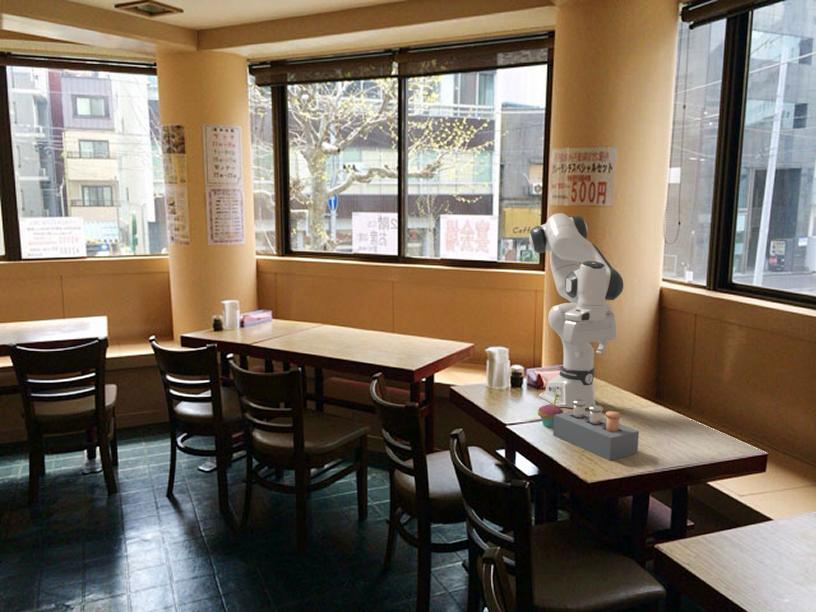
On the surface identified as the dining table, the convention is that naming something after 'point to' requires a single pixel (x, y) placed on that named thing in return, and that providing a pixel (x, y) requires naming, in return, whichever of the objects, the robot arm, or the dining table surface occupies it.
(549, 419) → the cupcake
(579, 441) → the slate block
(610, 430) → the terracotta plug
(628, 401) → the dining table surface
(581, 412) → the steel plug
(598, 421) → the steel plug
